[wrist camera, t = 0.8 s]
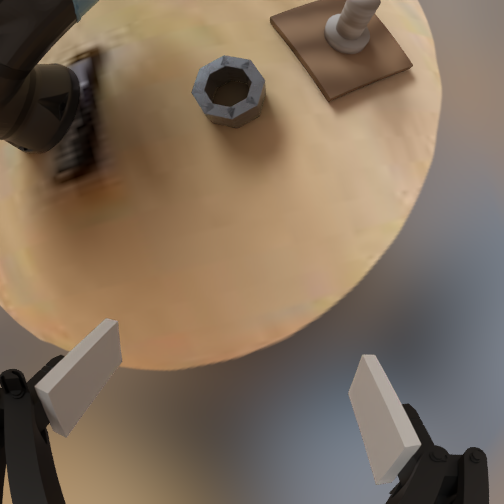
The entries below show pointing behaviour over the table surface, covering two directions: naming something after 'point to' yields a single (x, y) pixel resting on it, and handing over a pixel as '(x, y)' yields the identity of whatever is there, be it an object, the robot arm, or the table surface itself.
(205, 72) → the collar
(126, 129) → the table surface
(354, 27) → the shaft block
